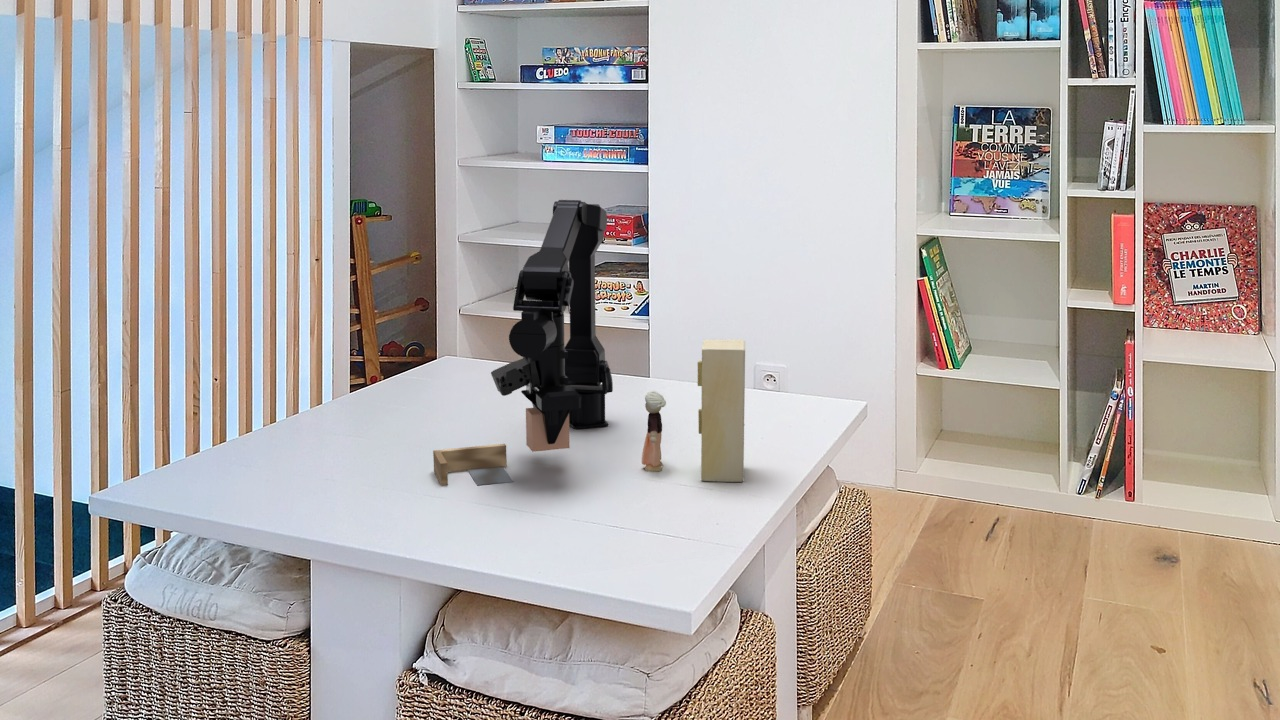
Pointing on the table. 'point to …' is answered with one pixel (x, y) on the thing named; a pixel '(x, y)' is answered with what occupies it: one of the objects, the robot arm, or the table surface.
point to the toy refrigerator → (722, 409)
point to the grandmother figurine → (653, 432)
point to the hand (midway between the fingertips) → (547, 439)
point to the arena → (473, 463)
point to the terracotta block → (543, 432)
